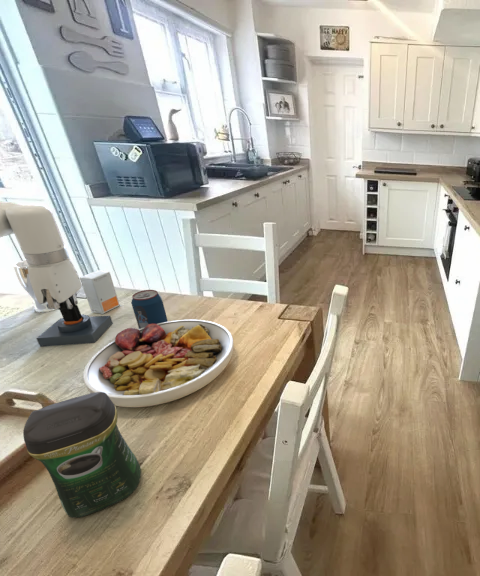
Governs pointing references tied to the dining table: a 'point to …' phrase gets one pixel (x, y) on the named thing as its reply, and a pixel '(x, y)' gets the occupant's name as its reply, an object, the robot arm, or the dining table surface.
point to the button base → (75, 331)
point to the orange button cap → (72, 322)
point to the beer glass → (29, 285)
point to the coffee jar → (83, 453)
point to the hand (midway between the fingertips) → (73, 319)
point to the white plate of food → (159, 362)
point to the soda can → (148, 308)
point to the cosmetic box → (100, 291)
